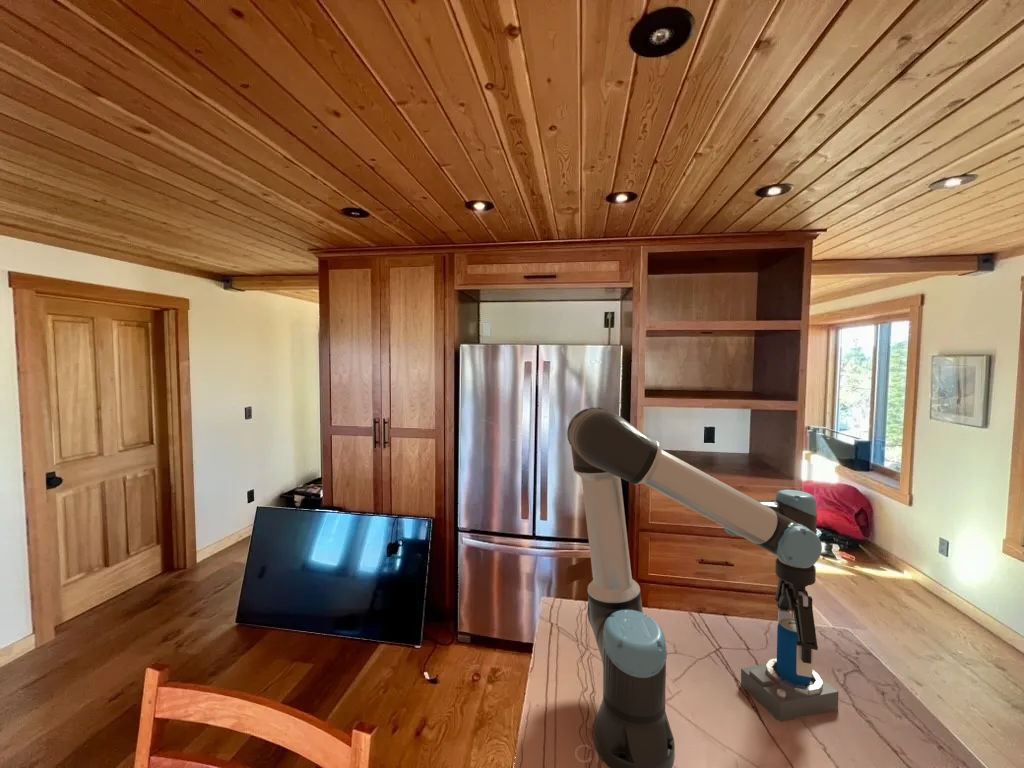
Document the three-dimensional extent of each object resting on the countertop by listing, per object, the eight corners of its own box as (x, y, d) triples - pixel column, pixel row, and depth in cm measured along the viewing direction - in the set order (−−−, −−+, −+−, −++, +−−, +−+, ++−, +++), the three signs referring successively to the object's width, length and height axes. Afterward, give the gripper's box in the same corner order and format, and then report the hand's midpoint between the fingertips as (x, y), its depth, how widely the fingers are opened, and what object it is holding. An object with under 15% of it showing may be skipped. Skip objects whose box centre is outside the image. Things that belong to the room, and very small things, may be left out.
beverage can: (812, 677, 99) (813, 624, 98) (808, 692, 94) (809, 637, 94) (779, 665, 103) (780, 614, 103) (773, 678, 98) (774, 625, 98)
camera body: (779, 721, 91) (780, 699, 91) (740, 685, 102) (741, 664, 102) (838, 709, 94) (838, 687, 94) (794, 675, 105) (794, 656, 105)
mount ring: (793, 698, 92) (794, 693, 92) (756, 666, 102) (756, 661, 102) (834, 691, 94) (834, 685, 94) (793, 660, 105) (793, 655, 105)
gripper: (838, 589, 85) (836, 698, 85) (796, 542, 109) (795, 627, 109) (793, 584, 87) (792, 689, 87) (762, 539, 111) (761, 622, 111)
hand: (793, 655), depth 98 cm, fingers open, 13 cm apart
